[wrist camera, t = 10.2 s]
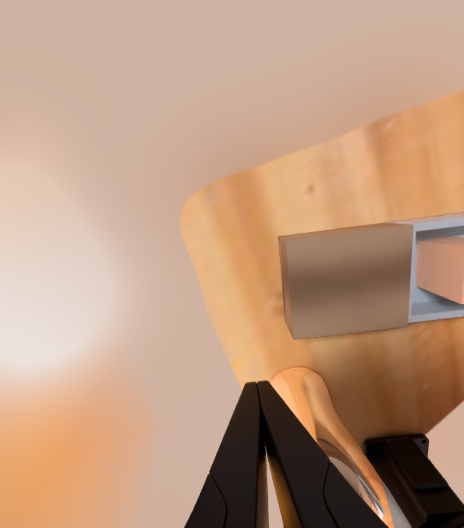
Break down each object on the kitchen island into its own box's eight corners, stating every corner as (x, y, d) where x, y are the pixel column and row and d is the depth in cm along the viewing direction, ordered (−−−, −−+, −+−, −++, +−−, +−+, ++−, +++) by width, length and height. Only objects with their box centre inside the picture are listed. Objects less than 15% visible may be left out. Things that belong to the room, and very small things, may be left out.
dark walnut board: (382, 310, 20) (407, 326, 18) (285, 321, 21) (293, 339, 18) (385, 222, 19) (413, 224, 16) (278, 236, 19) (286, 241, 16)
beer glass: (320, 424, 23) (465, 775, 9) (255, 415, 23) (295, 760, 9) (338, 368, 22) (552, 682, 7) (269, 357, 22) (347, 661, 7)
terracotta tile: (415, 285, 19) (444, 281, 19) (461, 304, 15) (498, 299, 15) (417, 240, 18) (447, 235, 18) (466, 248, 15) (505, 242, 14)
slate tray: (497, 296, 20) (534, 308, 18) (382, 310, 20) (403, 323, 18) (511, 206, 18) (554, 205, 16) (385, 222, 19) (408, 224, 16)
